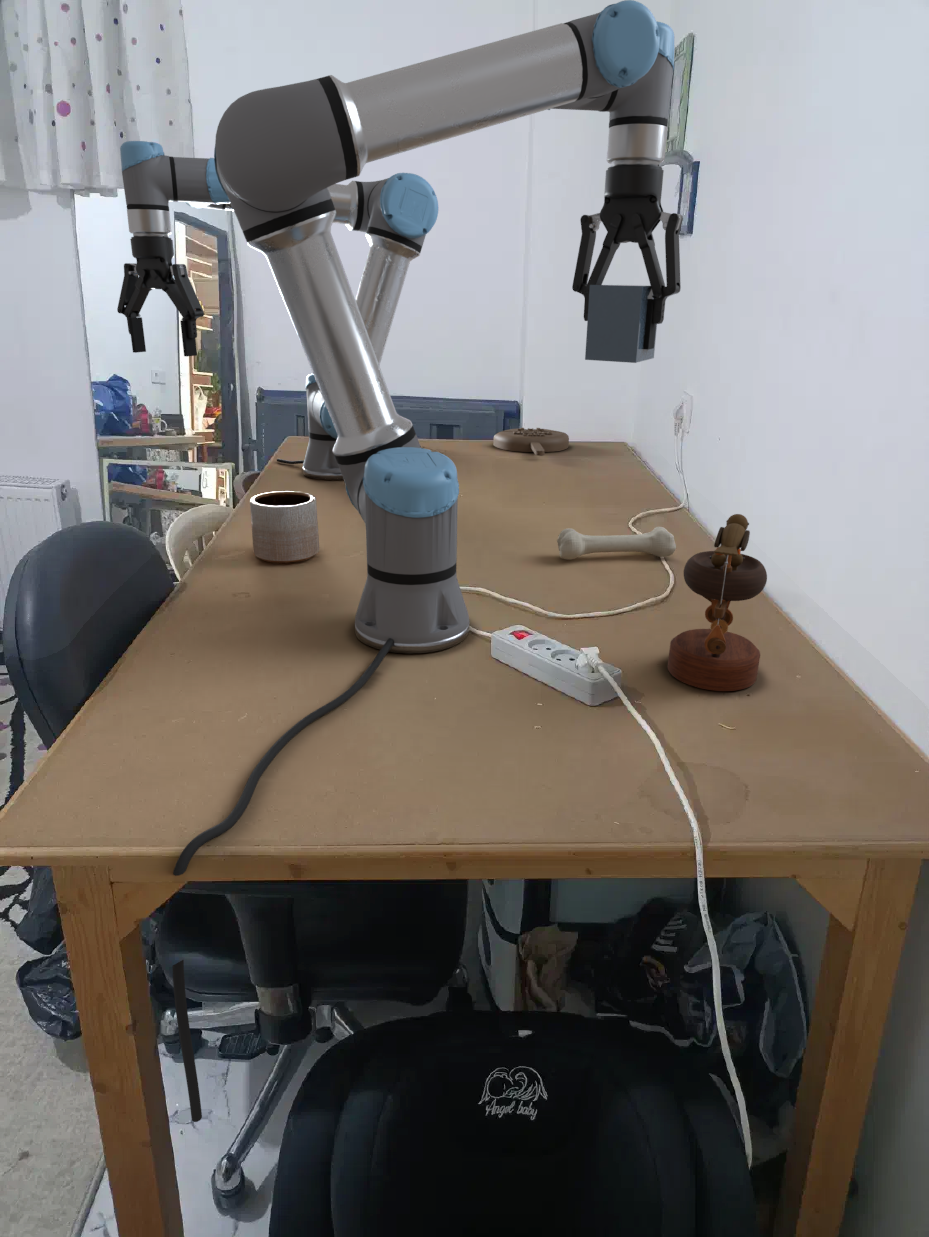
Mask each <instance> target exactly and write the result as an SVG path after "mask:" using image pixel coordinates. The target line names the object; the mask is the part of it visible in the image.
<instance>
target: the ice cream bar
mask: <svg viewBox="0 0 929 1237" xmlns="http://www.w3.org/2000/svg"><path fill="white" fill-rule="evenodd" d="M492 441H493V443H492V444H493V447H495V448H497V449H500V450H504V451H511V452H523V453H533V454H534V455H535V456H539V457H541V456H545V453H552V452H553V453H554V452H560V451H564V450H567V449H568V448H569V446H570V436H569V435H568V434H567V433H566V432H563V431H559V430H554V429H547V428H541V427H536V428H533V427H532V428H530V427H528V428H527V429H526V428H525V427H520V428H511V429H505V430H502V431H498V432H496V433H495V434H494V436H493V440H492Z"/></svg>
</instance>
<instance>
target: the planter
mask: <svg viewBox="0 0 929 1237" xmlns="http://www.w3.org/2000/svg"><path fill="white" fill-rule="evenodd" d="M249 508H250V521H251V522H250V523H251V536H252V537H251V538H252V552H253V556H255V557H256V558H257V559H259V560H261V561H264V562H267V563H271V564H293V563H299V562H300V563H301V562H304V561H307V560H310V559H312V558H313V557H315V556H316V555H318V553H319V552H320V537H319V524H318V523H319V522H318V507H317V497H316V496H315V495H313V494H312V493H308V492H303V491H292V490H291V491H290V490H285V491H283V490H282V491H270V492H264V493H260V494H257V495H254V496H252V497H251V498H250V499H249Z"/></svg>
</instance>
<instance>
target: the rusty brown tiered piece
mask: <svg viewBox="0 0 929 1237" xmlns="http://www.w3.org/2000/svg"><path fill="white" fill-rule="evenodd" d="M725 523H726V524H725V527H724V526H720V527H719V529H718V532H717V534H716V536H715V541H714V543H713V547H714V548H715V549H714V550H707V551H702V552H697V553H694V554H693V555H692V556H690V558H689V559H688V560H687V561H686V563H685V565H684V567H683V580H684V582H685V584H686V586H687V587H688V588H689V589H690V590H691V591H692V592H694V593H695V594H696V595H699V596H701V597H703V598H704V599H706V600H707V601H708V602H710V603H711V604H710V605H709V606H707V607H706V609H705V611H704V616H705V619H706V621H707V622H709V623H710V627H709V628H694V629H689V630H685V631H683V632H680V633H678V634H677V635H676V636H674V637H673V638H672V639H671V640H670V643H669V652H668V660H667V670H668V672H669V674H671V676H672V677H674V678H675V679H676V680H678V681H680V682H682V683H684V684H686V685H688V686H691V687H694V688H698V689H703V690H708V691H715V692H716V691H717V692H735V691H741V690H744V689H747V688H749V687H751V686H753V685H754V684H755V683H756V681H757V678H758V671H759V665H760V659H761V651H760V650H759V647H757V645H755V644H754V643H753V641H751V640H750V639H748V638H746V637H745V636H742V635H741V634H737V633H734V632H731V631H728V630H729V626H730V625H731V624H732V623H733V620H734V614H733V612H732V611H731V610H730V609H729V607H730V604H731V602H740V601H742V602H743V601H747V600H751V599H753V598H755V597H756V596H758V595H759V594H760V593H762V592H763V590H764V588H765V587H766V585H767V582H768V574H767V570H766V567H765V566H764V564H763V563H762V562H761V561H760V560H759V559H757V558H755V557H753V556H750V555H747V554H743V553H741V552H744V551H746V549H747V547H748V543H749V541H750V535H751V532H750V530H749V529H748V527H749V526H750V522H749V520H748V518H747V517H746V516H745V515H744V514H741V513H734V514H732V515H730V516H729V517H728V518H727V519H726V520H725Z"/></svg>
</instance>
